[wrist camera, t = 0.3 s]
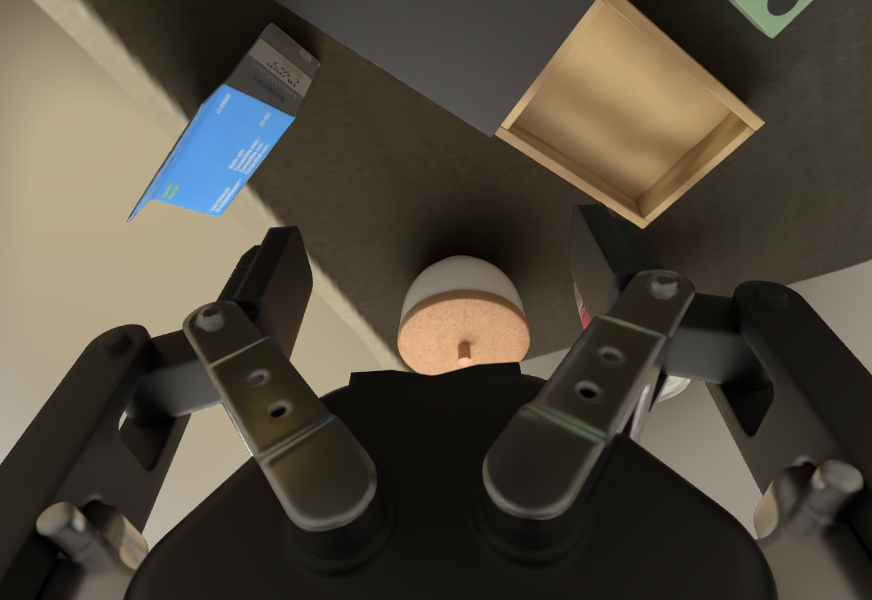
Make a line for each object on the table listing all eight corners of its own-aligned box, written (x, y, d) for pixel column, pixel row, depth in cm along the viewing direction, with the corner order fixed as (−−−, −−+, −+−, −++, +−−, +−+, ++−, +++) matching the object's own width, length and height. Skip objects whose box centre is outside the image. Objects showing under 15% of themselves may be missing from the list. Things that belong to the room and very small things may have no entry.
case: (365, -234, 22) (358, -239, 20) (745, 104, 33) (766, 123, 31) (287, -18, 28) (275, -6, 26) (632, 208, 39) (643, 229, 37)
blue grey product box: (254, 154, 36) (196, 264, 27) (203, 119, 34) (123, 224, 25) (323, 63, 31) (281, 158, 23) (269, 16, 30) (200, 100, 21)
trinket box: (517, 227, 41) (534, 307, 34) (519, 315, 48) (533, 395, 41) (391, 241, 42) (383, 322, 35) (412, 325, 49) (409, 404, 42)
